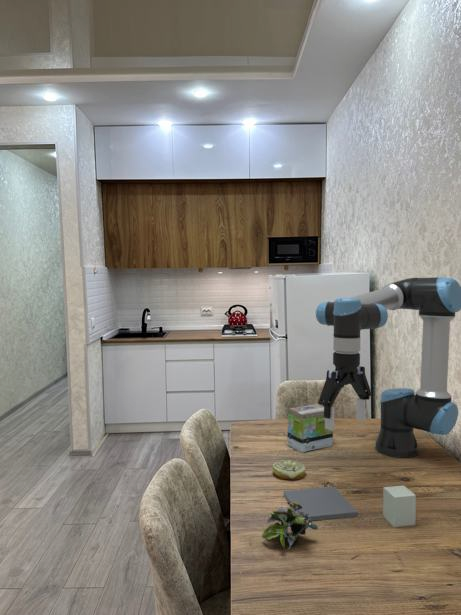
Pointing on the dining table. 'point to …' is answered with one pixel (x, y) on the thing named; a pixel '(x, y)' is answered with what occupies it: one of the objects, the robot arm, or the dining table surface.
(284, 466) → the decorated donut
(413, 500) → the sage block
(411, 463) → the dining table surface
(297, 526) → the passion flower
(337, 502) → the slate plate
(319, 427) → the tea box
